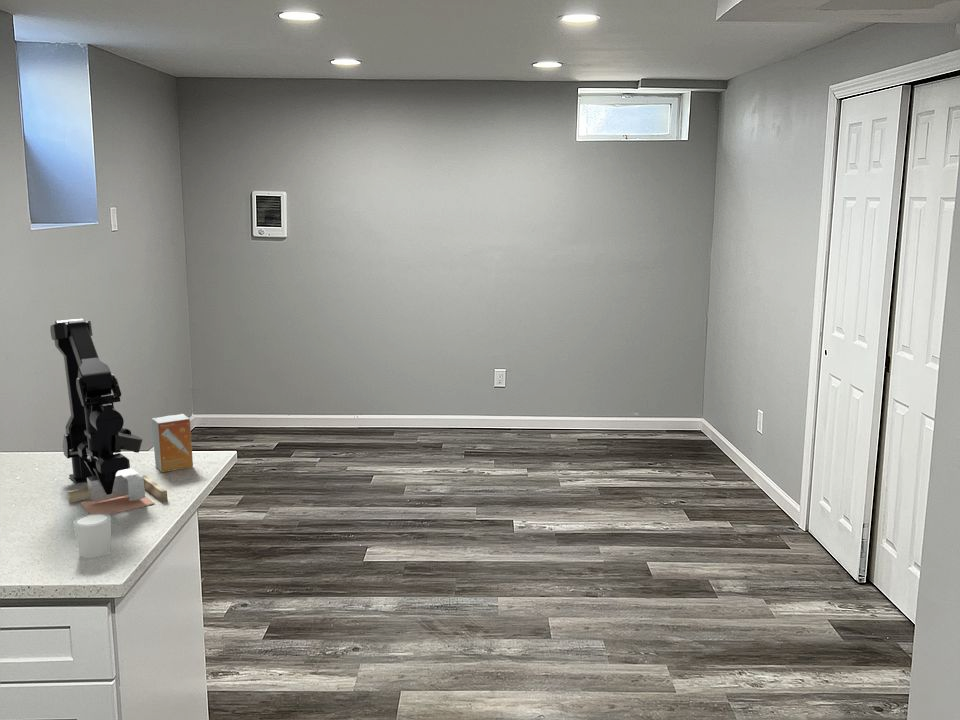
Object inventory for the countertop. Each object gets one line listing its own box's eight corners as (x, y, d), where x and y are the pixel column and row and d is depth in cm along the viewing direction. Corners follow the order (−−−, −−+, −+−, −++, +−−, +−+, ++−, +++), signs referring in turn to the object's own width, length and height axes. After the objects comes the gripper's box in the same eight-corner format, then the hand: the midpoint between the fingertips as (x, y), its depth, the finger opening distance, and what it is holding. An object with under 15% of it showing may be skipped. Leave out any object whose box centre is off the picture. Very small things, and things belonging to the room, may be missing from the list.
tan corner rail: (69, 501, 207) (67, 491, 207) (146, 484, 218) (145, 475, 217) (87, 519, 196) (86, 508, 195) (167, 500, 207) (166, 490, 206)
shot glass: (83, 546, 181) (80, 513, 180) (118, 545, 182) (115, 512, 180) (71, 560, 175) (67, 526, 173) (107, 559, 175) (104, 524, 174)
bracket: (133, 488, 211) (131, 468, 210) (145, 497, 205) (143, 476, 204) (89, 498, 205) (86, 477, 204) (99, 508, 199) (97, 486, 198)
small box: (161, 473, 227) (157, 423, 224) (155, 466, 232) (151, 417, 229) (194, 467, 231) (190, 418, 229) (187, 461, 236) (183, 413, 234)
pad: (80, 504, 205) (80, 503, 205) (138, 491, 213) (138, 490, 213) (94, 517, 197) (94, 516, 197) (154, 504, 205) (154, 503, 205)
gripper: (150, 428, 200) (156, 494, 203) (123, 411, 214) (129, 474, 217) (98, 437, 193) (104, 506, 196) (74, 419, 207) (80, 484, 210)
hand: (106, 491), depth 205 cm, fingers closed on bracket, 3 cm apart
